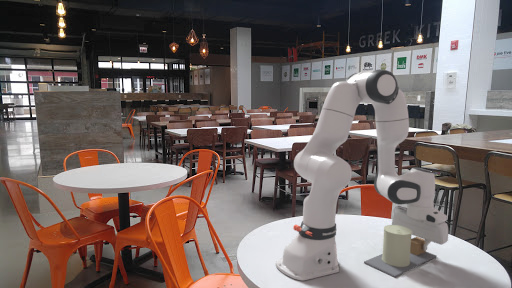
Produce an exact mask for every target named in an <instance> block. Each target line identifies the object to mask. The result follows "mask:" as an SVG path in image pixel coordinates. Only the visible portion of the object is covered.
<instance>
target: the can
mask: <svg viewBox="0 0 512 288" xmlns="http://www.w3.org/2000/svg"><path fill="white" fill-rule="evenodd" d="M412 236H413V235H412V231H411V230H410V229H409V228H407V227H404V226H399V225H392V224H389V225H388V224H387V225H385V226H384V227H383V239H382V240H383V241H382V253H381V254H382V260H383V261H384V262H385V263H386V264H389V265H391V266H396V267H406V266H408V265H409V264H410V247H411V239H412Z"/></svg>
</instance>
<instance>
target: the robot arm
mask: <svg viewBox="0 0 512 288" xmlns="http://www.w3.org/2000/svg"><path fill="white" fill-rule="evenodd" d="M360 103H363V104H364V103H365V104H371V105H372V106H373V109H374V116H375V117H374V118H375V119H374V121H375V129H376V131H375V132H376V141H377V144H376V145H377V146H376V148H377V149H376V152H377V153H376V155H377V157H376V158H377V171H376V174H375V177H374V180H373V187H374V190H375V191H376V193H378V195H380V196H382V197H384V198H385V199H387V200H388V201H390V202H391V203H393V204H395V205H397V206H394V208H393V215H392V218H391V219H392V220H391V225H399V226H404V227H407V228H409V229H410V230H411V231H412V235H411V236H414V237H419V238H422V239H424V242H426V243H425V244H423V245H421V249H422V250H424V251H426V252H427V250H428V246H429V245H431V244H430V243H435V244H438V245H439V246H440V245H444V244H446V243H448V241H449V226H448V224H447V223H446V221H447V220H448V215H447V214H445V213H443V212H441V211H440V210H439V209H436V207H435V205H434V196H435V193H436V178H435V174H434V172H432V171H431V170H430V169H429V170H428V169H427V168H423V167H422V168H421V167H417V166H416V167H412V168H411V169H410V170H408V171H407V172H405V173H403V174H401V175H398V173H397V171H396V162H395V161H396V160H395V159H396V155H395V153H396V149H397V146H399V144H402V142H404V141H405V140H406V138H407V137H408V135H409V129H410V119H409V109H408V105H407V104H408V103H407V100H406V97H405V93H404V92H403V91H402V90H401V89H400V87H399V85H398V81H397V78H396V76H395V75H394V73H393V72H391V71H389V70H386V69H373V70H364V71H361V72H355V73H353V74H351V75H349V76H348V77H347V78H346V79H345V80H343V81H342V80H341V81H336V82H334V83H333V84H332V85H331V88H329V90H328V93H327V95H326V98H325V99H324V102H323V104H322V107H321V111H320V114H319V118H318V120H317V122H316V123H317V124H316V127H315V129H314V131H313V134H312V135H311V137H310V139H309V141H307V143H306V145H305V146H304V148H303V149H302V150H300V151H299V152H298V153H297V154H296V155H295V157H294V160H293V168H294V170H295V171H296V173H297V174H298V175H299V176H300V177H301V178H303V179H304V180H307V181H308V182H310V183H311V188H310V192H309V194H308V195H307V196H306V197H305V198H304V200H303V206H302V207H303V209H302V221H301V224H300V225H299V224H294V225H293V230H294V231H296V232H298V233H297V234H296V236H295V237H294V238H293V239H292V240H291V241H290V242H289V243H288V244H287V245H286V246H285V247H284V249H283V253H282V258H280V259H278V260H276V261H275V267H276V268H277V270H279V272H281V273H283V274H284V275H285V276H288V277H289V278H291V279H294V280H298V281H301V282H302V281H307V280H312V279H316V278H320V277H324V276H328V275H332V274H337V273H339V272H340V267H339V260H338V259H339V258H338V251H337V249H338V248H337V242H336V235H337V224H336V214H337V203H338V200H339V199H338V198H339V196H340V194H341V192H342V190H343V189H344V188H346V187H347V186H348V185H349V184H350V182H351V180H352V177H353V171H352V167H351V165H350V163H349V162H347V161H346V160H344V159H343V158H341V157H340V156H337V155H335V152H336V150H338V148H339V147H340V146H342V144H344V143H345V142H346V141H347V140H348V138H349V135H350V131H351V128H352V124H353V122H354V119H355V115H356V110H357V108H358V106H359V105H360ZM402 205H406V207H405V206H402Z"/></svg>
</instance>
